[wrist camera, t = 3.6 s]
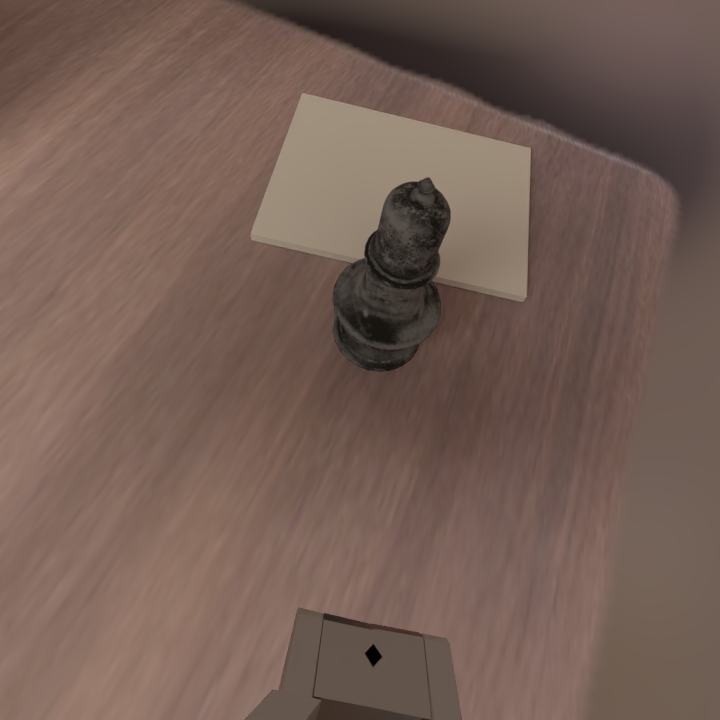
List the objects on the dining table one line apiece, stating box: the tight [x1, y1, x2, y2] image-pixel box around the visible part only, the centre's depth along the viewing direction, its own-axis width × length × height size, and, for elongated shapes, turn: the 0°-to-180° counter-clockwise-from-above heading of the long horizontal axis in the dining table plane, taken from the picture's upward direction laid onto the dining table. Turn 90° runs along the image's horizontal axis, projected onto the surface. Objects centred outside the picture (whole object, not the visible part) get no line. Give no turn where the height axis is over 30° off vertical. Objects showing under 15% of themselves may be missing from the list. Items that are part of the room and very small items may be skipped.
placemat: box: [250, 93, 531, 302], centre depth 33 cm, size 18×14×1 cm
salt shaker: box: [333, 177, 451, 372], centre depth 23 cm, size 6×6×12 cm
